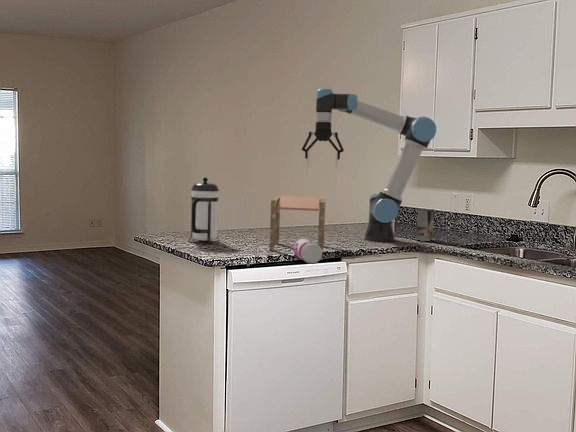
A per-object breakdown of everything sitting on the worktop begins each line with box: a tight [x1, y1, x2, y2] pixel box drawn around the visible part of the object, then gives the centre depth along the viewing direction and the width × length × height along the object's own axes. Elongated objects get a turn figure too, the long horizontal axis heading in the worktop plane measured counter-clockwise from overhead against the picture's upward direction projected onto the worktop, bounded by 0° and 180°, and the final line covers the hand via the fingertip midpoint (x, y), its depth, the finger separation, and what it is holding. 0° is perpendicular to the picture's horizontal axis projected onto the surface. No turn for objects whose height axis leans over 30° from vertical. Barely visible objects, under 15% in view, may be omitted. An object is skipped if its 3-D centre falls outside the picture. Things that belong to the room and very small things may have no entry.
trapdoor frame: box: [269, 196, 326, 252], centre depth 311 cm, size 23×23×22 cm
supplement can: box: [293, 238, 323, 265], centre depth 278 cm, size 8×8×15 cm
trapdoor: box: [277, 195, 321, 212], centre depth 310 cm, size 18×18×2 cm
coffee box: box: [415, 208, 435, 242], centre depth 351 cm, size 9×6×16 cm
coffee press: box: [187, 176, 220, 245], centre depth 318 cm, size 17×16×30 cm
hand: (322, 166), depth 333 cm, fingers open, 13 cm apart
